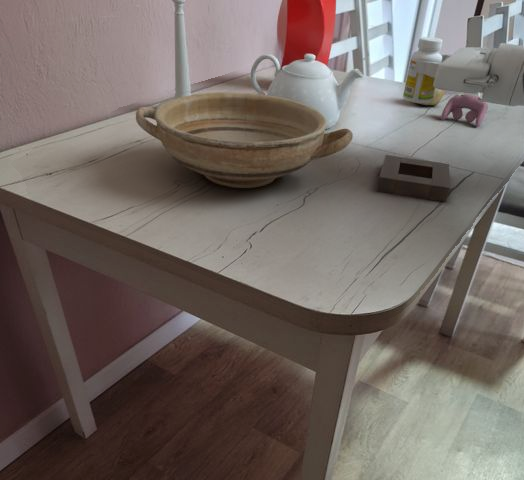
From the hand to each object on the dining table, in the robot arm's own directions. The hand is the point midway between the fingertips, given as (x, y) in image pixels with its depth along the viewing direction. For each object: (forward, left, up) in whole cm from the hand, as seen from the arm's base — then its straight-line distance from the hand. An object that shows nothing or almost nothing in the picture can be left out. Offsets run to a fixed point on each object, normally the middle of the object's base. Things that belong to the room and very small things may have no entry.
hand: (420, 62), depth 87 cm
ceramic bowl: (+27, +21, -17) cm, 38 cm away
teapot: (+24, -15, -17) cm, 33 cm away
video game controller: (-13, -33, -17) cm, 39 cm away
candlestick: (+51, -10, -17) cm, 54 cm away
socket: (-3, +13, -17) cm, 22 cm away
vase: (+30, -45, -17) cm, 57 cm away
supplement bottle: (-1, 0, -6) cm, 6 cm away
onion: (-4, -45, -17) cm, 48 cm away
